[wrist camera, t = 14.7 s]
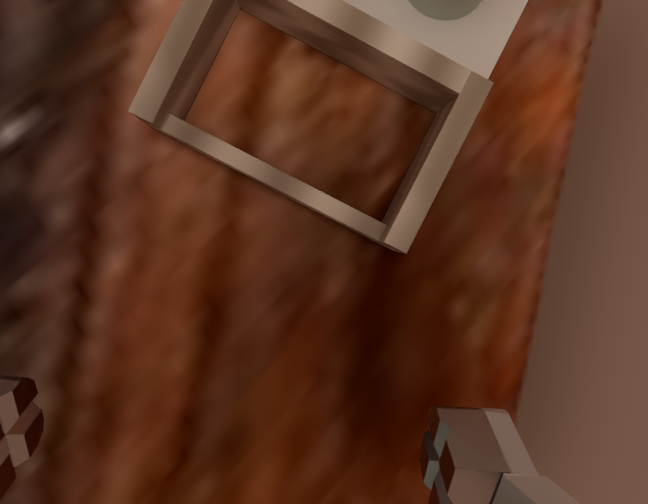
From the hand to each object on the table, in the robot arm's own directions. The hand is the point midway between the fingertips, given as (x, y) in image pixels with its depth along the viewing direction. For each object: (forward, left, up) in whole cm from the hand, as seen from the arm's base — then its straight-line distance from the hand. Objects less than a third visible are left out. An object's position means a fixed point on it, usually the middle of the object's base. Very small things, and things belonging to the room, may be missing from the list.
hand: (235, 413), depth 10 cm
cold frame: (-4, +12, -24) cm, 27 cm away
